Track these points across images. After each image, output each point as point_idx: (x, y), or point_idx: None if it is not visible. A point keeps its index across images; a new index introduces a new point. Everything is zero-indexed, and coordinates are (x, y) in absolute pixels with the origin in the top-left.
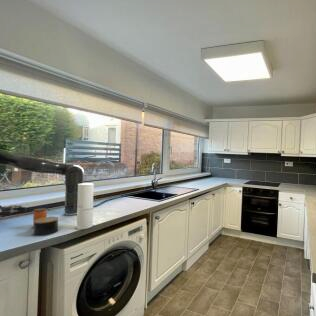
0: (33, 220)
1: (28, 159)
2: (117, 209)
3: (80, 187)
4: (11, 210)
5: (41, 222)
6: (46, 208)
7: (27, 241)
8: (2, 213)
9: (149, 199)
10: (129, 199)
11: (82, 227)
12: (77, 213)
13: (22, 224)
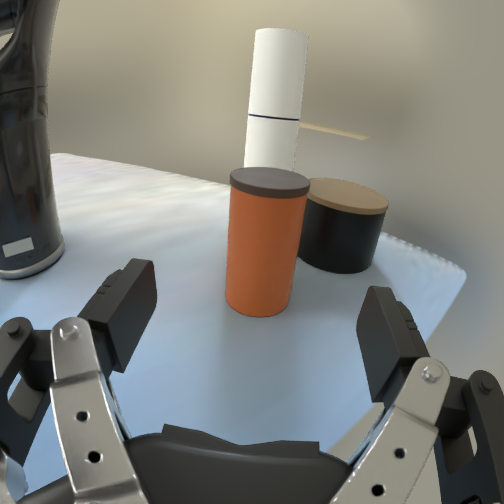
0: (290, 264)
1: None
2: (68, 185)
3: (307, 45)
4: (129, 433)
5: (381, 195)
6: (246, 168)
7: (414, 260)
8: (419, 348)
9: None
10: None
11: None
12: (291, 148)
13: (177, 416)
